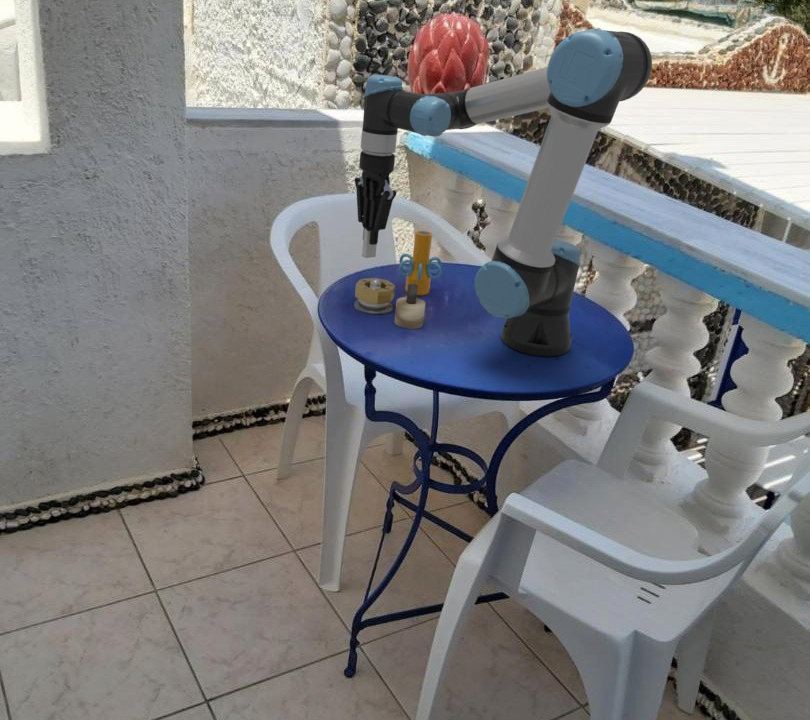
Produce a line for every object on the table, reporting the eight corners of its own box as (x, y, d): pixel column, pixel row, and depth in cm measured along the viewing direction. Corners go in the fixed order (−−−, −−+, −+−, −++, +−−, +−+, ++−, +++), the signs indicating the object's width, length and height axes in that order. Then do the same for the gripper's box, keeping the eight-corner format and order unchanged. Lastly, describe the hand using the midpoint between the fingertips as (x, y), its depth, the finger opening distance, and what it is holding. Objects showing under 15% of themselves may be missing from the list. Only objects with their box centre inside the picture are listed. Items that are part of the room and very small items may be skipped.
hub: (400, 310, 177) (403, 283, 174) (368, 317, 172) (370, 288, 169) (378, 297, 184) (380, 270, 181) (346, 302, 179) (348, 275, 176)
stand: (428, 326, 171) (433, 288, 167) (405, 330, 167) (410, 292, 164) (411, 315, 176) (415, 278, 172) (388, 320, 172) (392, 282, 168)
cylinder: (438, 302, 185) (446, 242, 178) (395, 298, 184) (401, 238, 178) (437, 285, 196) (445, 227, 189) (397, 280, 195) (402, 223, 189)
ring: (396, 294, 180) (397, 282, 179) (387, 306, 172) (388, 294, 171) (362, 287, 181) (363, 275, 180) (351, 299, 174) (352, 287, 173)
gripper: (410, 158, 163) (398, 263, 173) (375, 144, 172) (366, 245, 182) (381, 159, 159) (371, 267, 169) (346, 145, 168) (339, 249, 178)
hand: (368, 256), depth 176 cm, fingers closed
